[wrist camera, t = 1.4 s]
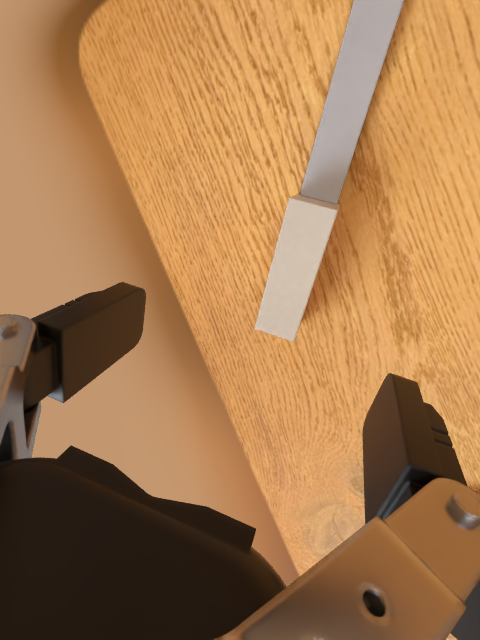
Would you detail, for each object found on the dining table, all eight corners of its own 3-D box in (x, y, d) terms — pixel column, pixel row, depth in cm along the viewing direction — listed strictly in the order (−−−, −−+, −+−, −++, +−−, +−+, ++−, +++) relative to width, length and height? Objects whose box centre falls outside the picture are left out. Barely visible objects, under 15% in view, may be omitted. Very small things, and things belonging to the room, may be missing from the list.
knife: (300, 323, 24) (294, 342, 21) (265, 311, 24) (253, 328, 21) (416, -22, 15) (428, -61, 13) (359, -30, 16) (360, -69, 13)
